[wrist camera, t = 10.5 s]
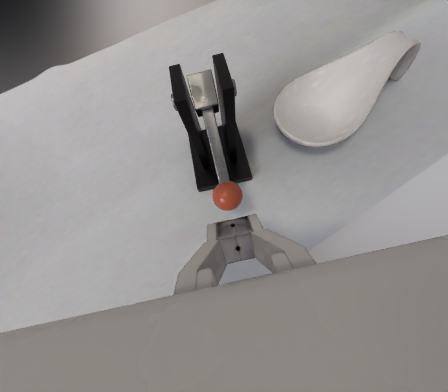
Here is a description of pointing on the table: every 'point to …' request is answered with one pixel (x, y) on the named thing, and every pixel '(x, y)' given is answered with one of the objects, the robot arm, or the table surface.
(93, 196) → the table surface
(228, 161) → the switch bracket
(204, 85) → the power lever
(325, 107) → the spoon rest
